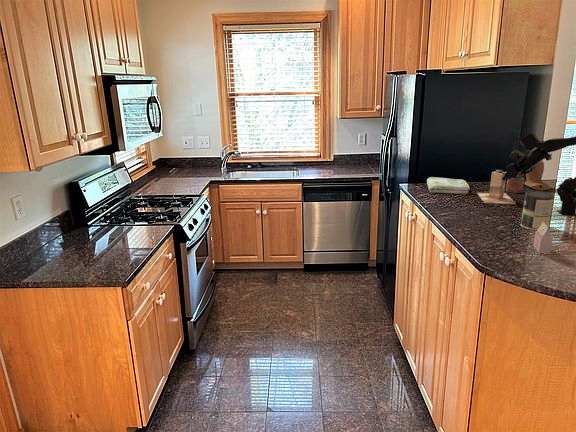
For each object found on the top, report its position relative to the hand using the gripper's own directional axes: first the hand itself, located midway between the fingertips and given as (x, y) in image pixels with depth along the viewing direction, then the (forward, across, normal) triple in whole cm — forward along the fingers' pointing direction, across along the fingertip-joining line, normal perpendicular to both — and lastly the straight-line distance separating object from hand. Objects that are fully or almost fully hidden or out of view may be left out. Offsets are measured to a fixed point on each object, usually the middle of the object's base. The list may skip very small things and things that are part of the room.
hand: (507, 178), depth 214 cm
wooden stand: (+10, -37, +7) cm, 39 cm away
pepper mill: (+11, 0, +4) cm, 12 cm away
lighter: (+12, -21, +4) cm, 24 cm away
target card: (+11, 0, +5) cm, 12 cm away
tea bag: (-20, +52, +37) cm, 67 cm away
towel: (+31, 0, -14) cm, 34 cm away
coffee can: (-10, +28, +28) cm, 41 cm away
